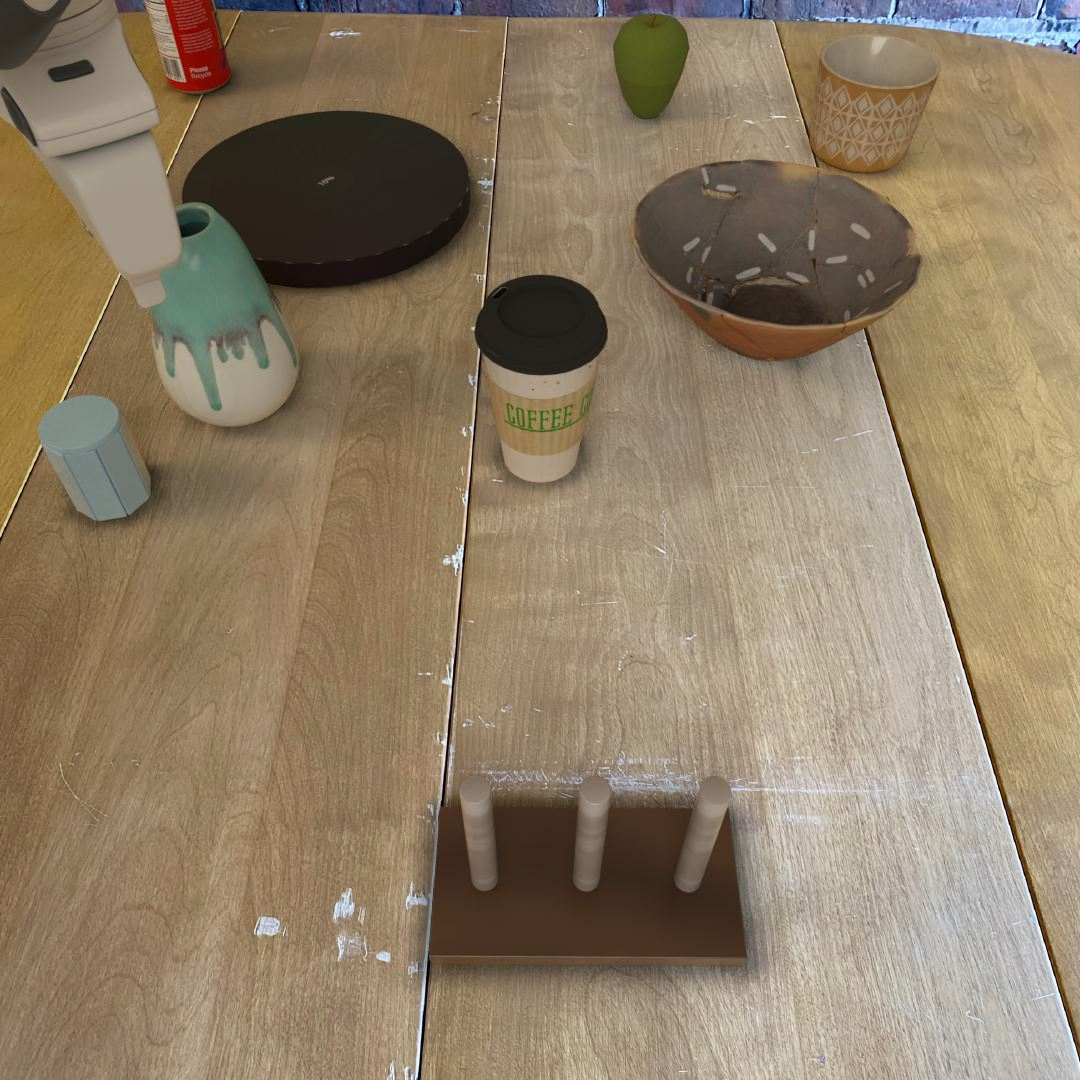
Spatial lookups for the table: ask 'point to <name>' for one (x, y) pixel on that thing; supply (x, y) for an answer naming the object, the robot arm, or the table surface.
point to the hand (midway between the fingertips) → (124, 263)
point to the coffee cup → (540, 370)
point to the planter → (870, 100)
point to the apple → (650, 61)
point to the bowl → (775, 254)
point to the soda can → (189, 44)
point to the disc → (335, 194)
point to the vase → (221, 327)
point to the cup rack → (586, 882)
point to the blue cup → (95, 457)
